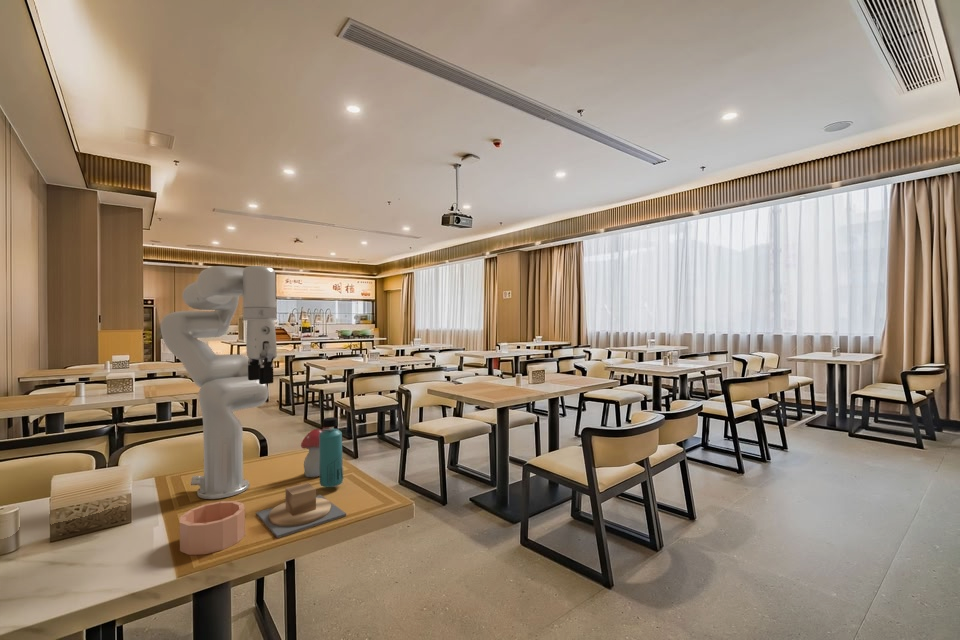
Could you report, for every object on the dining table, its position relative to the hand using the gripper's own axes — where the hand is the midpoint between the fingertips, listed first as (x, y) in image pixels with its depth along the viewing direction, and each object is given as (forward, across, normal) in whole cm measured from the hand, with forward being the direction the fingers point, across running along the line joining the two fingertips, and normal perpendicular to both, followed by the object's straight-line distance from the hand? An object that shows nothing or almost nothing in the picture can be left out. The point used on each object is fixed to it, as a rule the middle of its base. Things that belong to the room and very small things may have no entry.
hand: (260, 381), depth 112 cm
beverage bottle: (+32, 0, -18) cm, 37 cm away
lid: (+32, -12, -6) cm, 34 cm away
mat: (+32, -12, -6) cm, 35 cm away
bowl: (+32, -11, +13) cm, 36 cm away
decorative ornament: (+32, +14, -20) cm, 41 cm away
